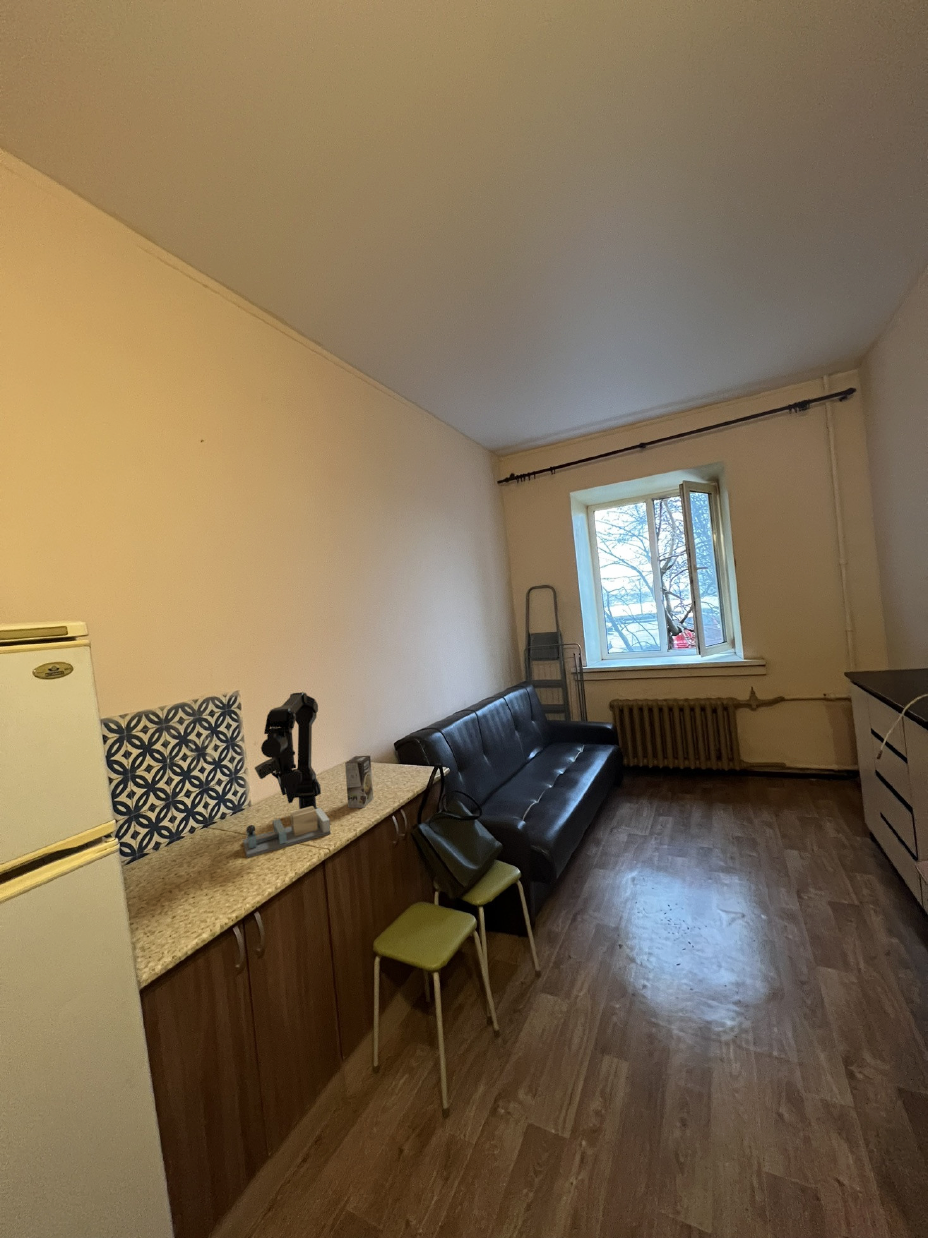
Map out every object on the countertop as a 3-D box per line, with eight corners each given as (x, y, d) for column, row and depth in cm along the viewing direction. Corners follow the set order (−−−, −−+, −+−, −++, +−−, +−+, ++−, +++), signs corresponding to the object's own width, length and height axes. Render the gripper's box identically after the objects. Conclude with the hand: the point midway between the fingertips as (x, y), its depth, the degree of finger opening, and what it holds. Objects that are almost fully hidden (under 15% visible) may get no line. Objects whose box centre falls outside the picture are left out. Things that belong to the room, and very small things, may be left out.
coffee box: (364, 808, 170) (361, 762, 170) (347, 808, 171) (344, 762, 171) (374, 798, 179) (371, 755, 179) (358, 798, 180) (354, 755, 180)
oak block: (291, 830, 153) (290, 811, 153) (314, 824, 156) (312, 806, 156) (294, 836, 148) (293, 816, 148) (317, 829, 152) (316, 810, 152)
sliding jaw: (245, 837, 149) (244, 819, 149) (280, 828, 154) (278, 811, 154) (249, 852, 139) (248, 833, 139) (286, 842, 144) (285, 823, 144)
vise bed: (243, 842, 149) (241, 828, 149) (321, 821, 161) (320, 808, 161) (247, 858, 138) (245, 842, 138) (330, 834, 150) (329, 819, 150)
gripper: (251, 748, 154) (254, 797, 153) (260, 760, 138) (264, 814, 138) (287, 741, 159) (291, 788, 159) (300, 752, 144) (304, 804, 143)
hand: (287, 798), depth 150 cm, fingers open, 9 cm apart
